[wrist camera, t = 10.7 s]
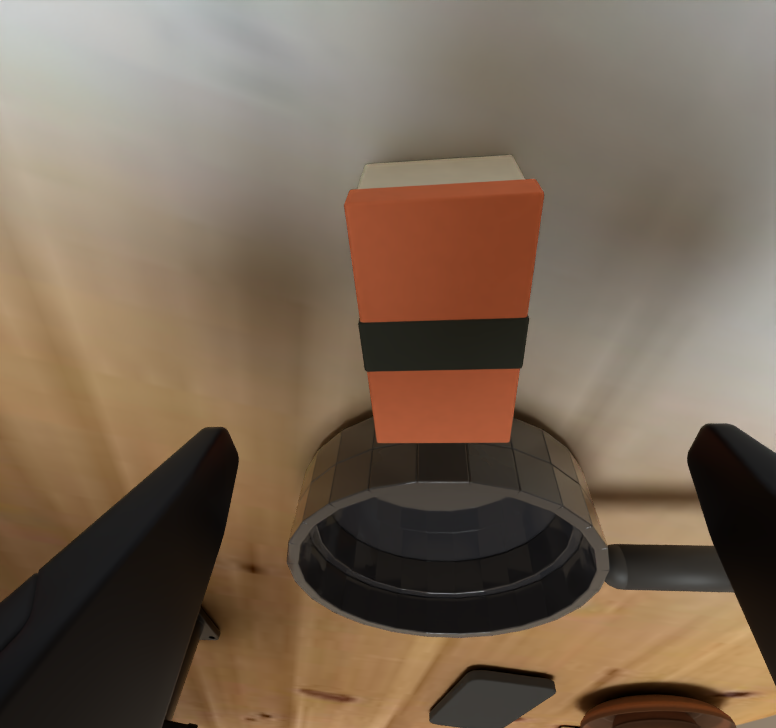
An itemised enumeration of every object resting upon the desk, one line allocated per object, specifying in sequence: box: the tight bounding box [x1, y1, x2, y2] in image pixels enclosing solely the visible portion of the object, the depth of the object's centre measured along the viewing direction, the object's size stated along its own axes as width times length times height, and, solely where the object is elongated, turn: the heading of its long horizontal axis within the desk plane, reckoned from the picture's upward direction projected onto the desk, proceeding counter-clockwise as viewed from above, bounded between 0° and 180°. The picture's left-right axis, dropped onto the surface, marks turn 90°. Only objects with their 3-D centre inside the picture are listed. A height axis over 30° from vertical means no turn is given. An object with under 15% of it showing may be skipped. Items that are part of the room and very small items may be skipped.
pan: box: [287, 417, 610, 638], centre depth 20 cm, size 13×13×4 cm
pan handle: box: [605, 544, 734, 592], centre depth 18 cm, size 9×2×2 cm, turn 94°
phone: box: [429, 670, 556, 728], centre depth 41 cm, size 7×1×15 cm
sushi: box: [344, 155, 544, 443], centre depth 13 cm, size 7×4×4 cm, turn 4°
